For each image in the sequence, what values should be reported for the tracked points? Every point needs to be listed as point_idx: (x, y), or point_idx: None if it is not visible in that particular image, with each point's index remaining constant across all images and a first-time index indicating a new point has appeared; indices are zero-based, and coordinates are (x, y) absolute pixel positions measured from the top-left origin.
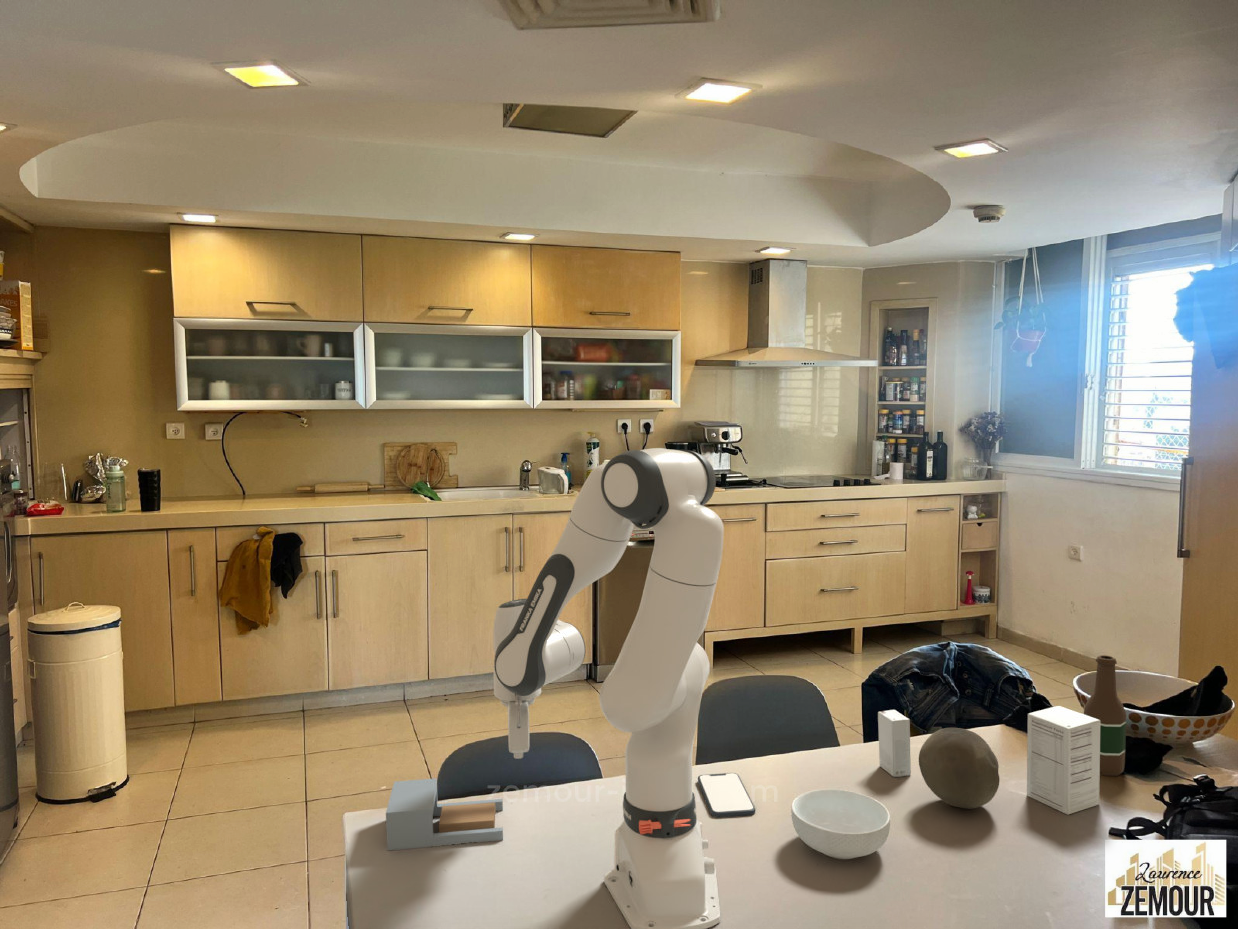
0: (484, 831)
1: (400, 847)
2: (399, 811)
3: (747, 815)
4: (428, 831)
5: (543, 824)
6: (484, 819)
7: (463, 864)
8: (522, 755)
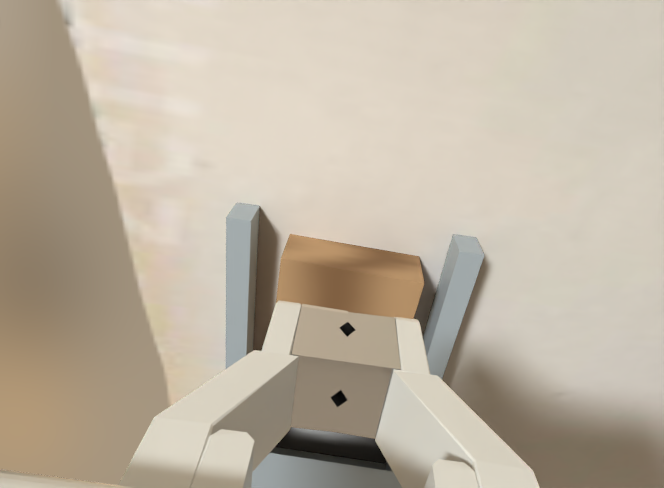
0: (460, 309)
1: None
2: None
3: None
4: None
5: (420, 67)
6: (403, 310)
7: (558, 355)
8: (417, 332)
